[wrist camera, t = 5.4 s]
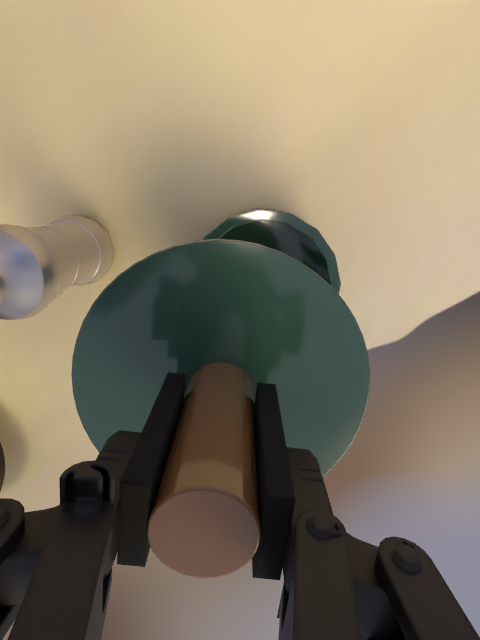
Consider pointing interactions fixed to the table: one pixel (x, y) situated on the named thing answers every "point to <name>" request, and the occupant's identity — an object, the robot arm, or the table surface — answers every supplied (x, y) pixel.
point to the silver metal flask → (49, 262)
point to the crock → (282, 239)
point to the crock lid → (220, 383)
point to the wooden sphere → (2, 466)
